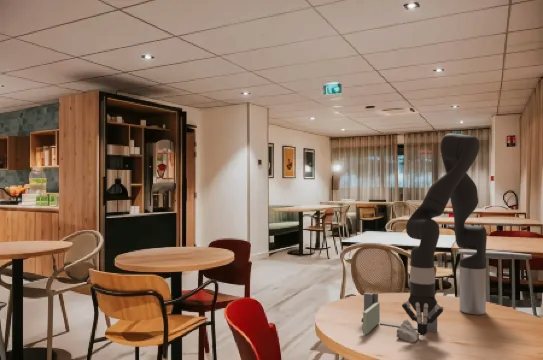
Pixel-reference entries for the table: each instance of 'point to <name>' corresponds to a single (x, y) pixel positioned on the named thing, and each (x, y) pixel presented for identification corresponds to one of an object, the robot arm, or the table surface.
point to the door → (371, 317)
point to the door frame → (373, 298)
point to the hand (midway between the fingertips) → (422, 334)
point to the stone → (407, 332)
